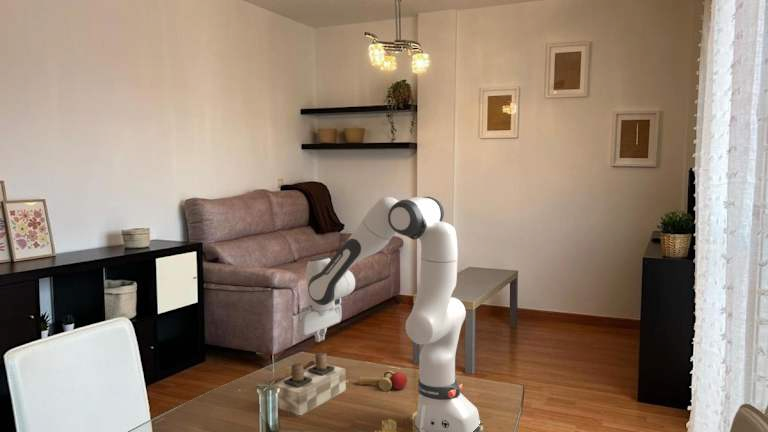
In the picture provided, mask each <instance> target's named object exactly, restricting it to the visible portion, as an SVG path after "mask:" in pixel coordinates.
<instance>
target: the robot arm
mask: <svg viewBox="0 0 768 432" xmlns="http://www.w3.org/2000/svg"><path fill="white" fill-rule="evenodd" d="M444 215H445V210H444V207H443V205H442V204H441V202H440V201H439V200H438V199H436V198H434V197H431V196H422V197H420V196H415V197H414V196H413V197H409V198H406V199H402V200H398V199H397V198H395V197H393V196H383V197H381V198H380V199H378V200H377V202H376V203H375V204H374V205H373V206H372V207H371V208H370V209H369V210H368V212H367V213H366V215H365V216H364V217H363V219H362V220H361V221H360V223H359V224H358V226H357V227H356V229H355V230H354V231H353V233H352V234H351V235H350V236H349V238H348V239H347V240H346V241H345V242H344V243H343V245H342V246H341V247H340V248H339V249H338V251H337V252H336V253H335V254H334V255H333V257H332V258H330V257H328V256H319V257H316V258H312V259H310V260H309V261H308V262H307V265H306V271H305V273H306V274H305V279H306V281H305V283H306V284H305V285H306V287H307V290H306V307H303V308H301V310H299V312H298V315H297V318H296V319H297V322H296V333H297V334H298V335H299V336H304V337H305V336H308V335H310V334H313V335H314V337H315V338H314V339H315V342H317V343H320V342H322V341H324V340H325V337H326V336H325V335H326V333H327V332H328V331H327V329H328V328H329V327H331V326H334V325H335V324H339V323H340V322H341V320H342V316H343V313H342V312H343V311H342V305H341V304H342V298H344V297H346V296H348V295H350V294H352V293H353V292H354V291H355V289H356V283H357V282H356V277H355V275H354V274H353V272H352V271H351V270H350V269H351V268H352V267H353V266H354V265H355V264H356V263H357V262H360V261H362V260H364V259H366V258H368V257H370V256H373V255H374V254H376V253H379V252H380V251H381V250H383V249H384V248H385V247H386V246H387V244H389V242H390V241H391V240H392V238H393V237H394V235H395V234H396V233H397V234H399V235H402V236H405V237H407V238H409V239H411V240H418V239H419V241H420V244H421V250H420V251H421V253H420V272H419V274H420V275H419V285H418V289H417V293H416V297H415V301H414V303H413V306H412V310H411V312H410V314H409V316H408V317H407V319H406V321H405V332H406V335H407V336H408V338H409V339H410V341H412V342H413V343H415V344H417V345H423V346H422V349H421V350H420V353H419V357H418V358H419V359H418V360H419V361H418V362H419V365H418V366H419V367H418V369H419V373H418V374H419V378H417V379H418V380H417V383H418V384H417V392H418V404H417V412H416V416H415V419H414V425H415V427H416V428H417V429H418V432H473V431H474V430H475V429H476V428H477V427H478V426H479V424H480V421H481V420H480V415H479V410H478V408H477V406H475V405H474V404H473V403H472V402H471V401H469V400H468V398H467V397H465V395H464V394H462V392H461V389H462V388H463V383H461V384H458V381H457V379H456V355H457V354H456V353H457V349H458V344H459V338H460V334H461V329H462V326H463V324H464V322H465V319H466V316H467V312H466V307H465V305H464V303H463V302H462V301H461V300H460V299H458V298H457V297H453V296H452V294H453V292H454V290H455V288H456V286H457V279H458V258H459V256H458V255H459V253H458V252H459V251H458V239H457V231H456V229H455V227H454V226H453V225H452V224H450V223H448V222H445V221H443V219H444Z"/></svg>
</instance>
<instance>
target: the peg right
mask: <svg viewBox="0 0 768 432" xmlns="http://www.w3.org/2000/svg"><path fill="white" fill-rule="evenodd" d="M314 355H315V364H316V370H318V371H324V370H326V369H327V364H328V356H327V355H328V353H325V352H317V353H316V354H314Z"/></svg>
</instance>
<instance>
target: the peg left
mask: <svg viewBox="0 0 768 432" xmlns="http://www.w3.org/2000/svg"><path fill="white" fill-rule="evenodd" d="M304 367H305V366H304V363H301V362H297V363H293V364H292V365H291V370H292V382H295V383H300V382H302V381H304Z"/></svg>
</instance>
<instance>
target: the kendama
mask: <svg viewBox="0 0 768 432" xmlns="http://www.w3.org/2000/svg"><path fill="white" fill-rule="evenodd" d="M383 373H384V374H383V377H376V376H375V377H374V376H359V377H358V384H359V385H360V386H361V385H362V386H363V385H372V384H378V387H379V388H380V389H381V390H382V391H386V392H388V391H390V390H391V389H392V388H394V389H396V390H403V389H404V388H405V387H406V386H407V384H408V377H407V375H406V374H404V373H403V372H401V371H397V372H396V371H395V372H394V371H392V370H386V371H385V372H383Z"/></svg>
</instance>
